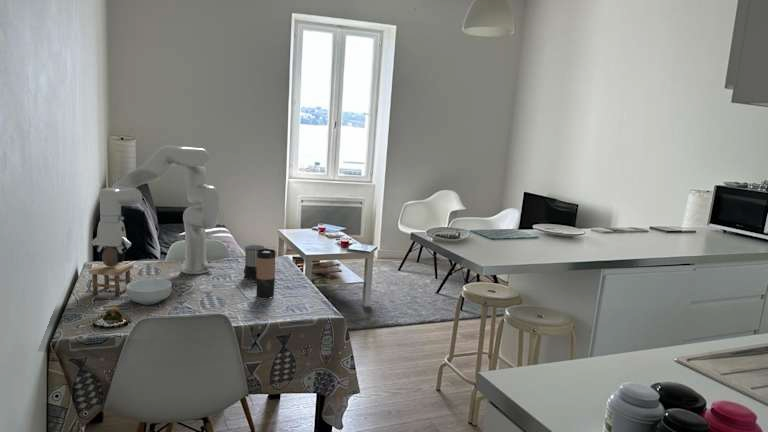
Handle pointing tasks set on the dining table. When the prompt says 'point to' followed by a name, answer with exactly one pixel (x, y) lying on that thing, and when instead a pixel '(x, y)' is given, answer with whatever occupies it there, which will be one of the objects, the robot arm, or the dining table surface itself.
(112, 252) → the vase
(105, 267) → the stool
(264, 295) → the travel mug
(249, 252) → the milk frother
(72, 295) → the dining table surface
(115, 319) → the mossy pebble dish
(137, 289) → the cereal bowl
